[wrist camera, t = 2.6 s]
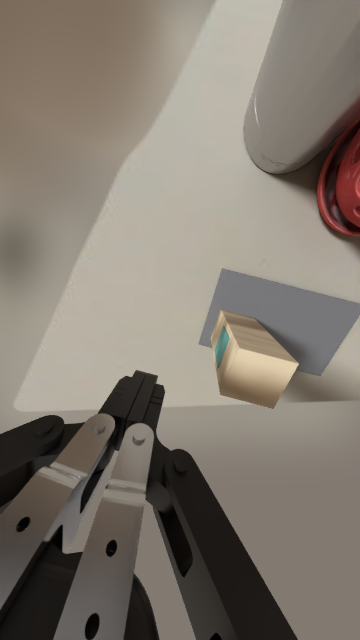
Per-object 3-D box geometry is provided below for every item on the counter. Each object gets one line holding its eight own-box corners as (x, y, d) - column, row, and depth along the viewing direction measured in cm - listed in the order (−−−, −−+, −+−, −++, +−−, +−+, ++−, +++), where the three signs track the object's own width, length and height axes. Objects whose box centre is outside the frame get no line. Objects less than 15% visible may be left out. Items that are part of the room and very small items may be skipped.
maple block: (219, 308, 25) (237, 347, 14) (253, 317, 25) (299, 363, 14) (209, 338, 27) (218, 394, 16) (241, 346, 27) (273, 408, 16)
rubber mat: (222, 268, 24) (222, 268, 23) (362, 304, 24) (365, 305, 23) (198, 342, 28) (198, 344, 28) (318, 374, 28) (320, 376, 27)
